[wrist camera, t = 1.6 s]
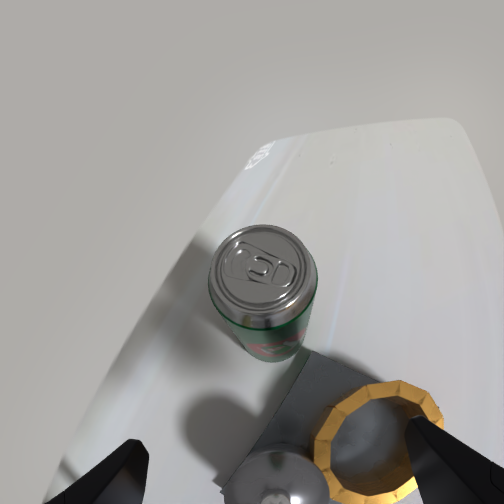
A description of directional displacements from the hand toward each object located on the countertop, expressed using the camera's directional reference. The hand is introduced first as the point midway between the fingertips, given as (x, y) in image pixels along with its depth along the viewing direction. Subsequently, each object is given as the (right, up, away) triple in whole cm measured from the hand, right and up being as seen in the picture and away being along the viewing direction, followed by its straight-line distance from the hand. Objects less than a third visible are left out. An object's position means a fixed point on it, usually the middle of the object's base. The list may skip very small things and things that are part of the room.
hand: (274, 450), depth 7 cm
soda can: (+1, 0, +15) cm, 15 cm away
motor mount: (+6, -9, +9) cm, 14 cm away
